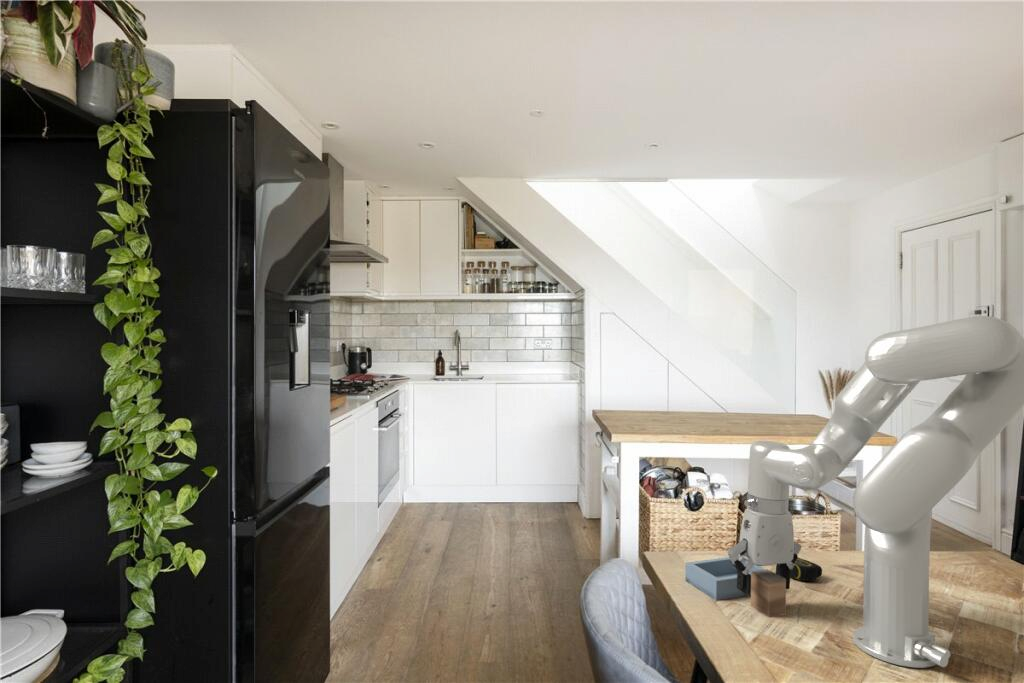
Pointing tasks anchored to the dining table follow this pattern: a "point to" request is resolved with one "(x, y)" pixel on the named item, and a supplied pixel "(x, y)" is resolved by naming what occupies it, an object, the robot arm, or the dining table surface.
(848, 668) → the dining table surface
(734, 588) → the container
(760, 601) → the wooden rectangular block
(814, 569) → the tape measure
